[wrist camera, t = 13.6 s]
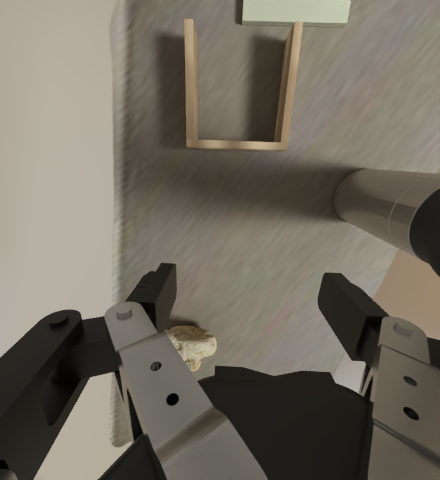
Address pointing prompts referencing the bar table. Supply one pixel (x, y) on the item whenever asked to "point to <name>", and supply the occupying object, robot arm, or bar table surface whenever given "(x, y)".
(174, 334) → the decorative item
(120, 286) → the bar table surface
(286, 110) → the u-shaped pine frame
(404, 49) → the bar table surface
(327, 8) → the sage mat
